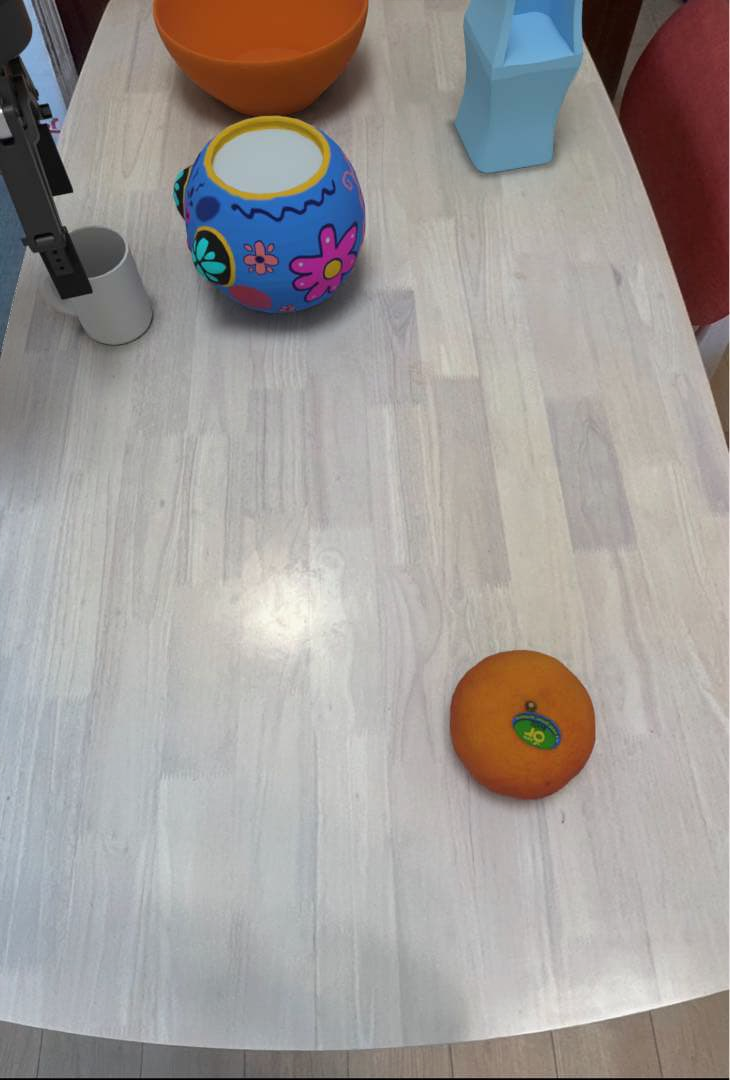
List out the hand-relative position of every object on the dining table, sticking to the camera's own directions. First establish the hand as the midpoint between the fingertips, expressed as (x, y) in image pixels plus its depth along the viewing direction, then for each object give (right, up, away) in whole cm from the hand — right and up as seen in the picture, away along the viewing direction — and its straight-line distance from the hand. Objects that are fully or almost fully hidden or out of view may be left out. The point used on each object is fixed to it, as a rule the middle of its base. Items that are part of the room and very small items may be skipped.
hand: (67, 241), depth 69 cm
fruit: (+39, -43, -10) cm, 58 cm away
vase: (+44, +21, +22) cm, 53 cm away
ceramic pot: (+19, 0, +12) cm, 22 cm away
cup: (0, -4, +10) cm, 11 cm away
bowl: (+15, +31, +28) cm, 44 cm away
